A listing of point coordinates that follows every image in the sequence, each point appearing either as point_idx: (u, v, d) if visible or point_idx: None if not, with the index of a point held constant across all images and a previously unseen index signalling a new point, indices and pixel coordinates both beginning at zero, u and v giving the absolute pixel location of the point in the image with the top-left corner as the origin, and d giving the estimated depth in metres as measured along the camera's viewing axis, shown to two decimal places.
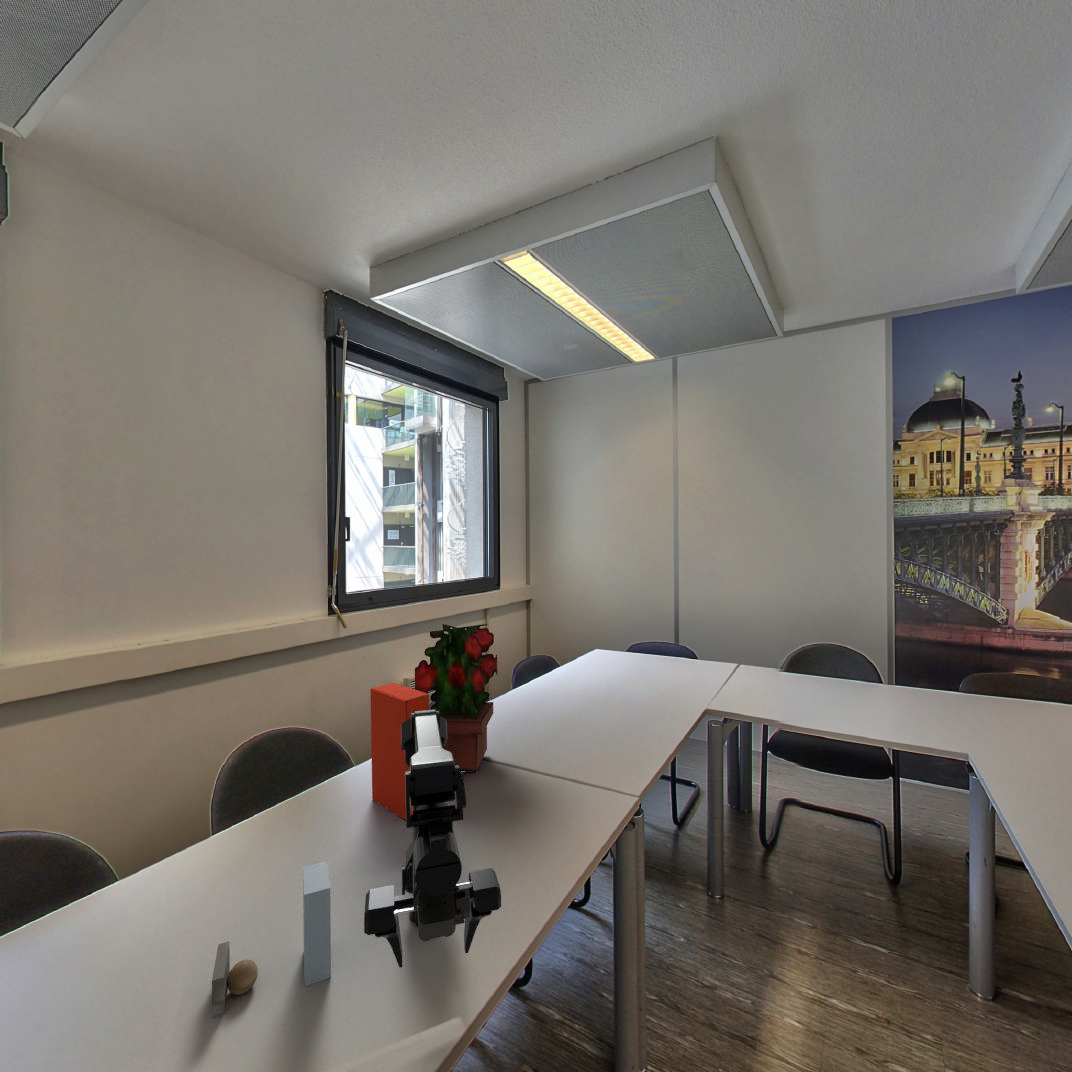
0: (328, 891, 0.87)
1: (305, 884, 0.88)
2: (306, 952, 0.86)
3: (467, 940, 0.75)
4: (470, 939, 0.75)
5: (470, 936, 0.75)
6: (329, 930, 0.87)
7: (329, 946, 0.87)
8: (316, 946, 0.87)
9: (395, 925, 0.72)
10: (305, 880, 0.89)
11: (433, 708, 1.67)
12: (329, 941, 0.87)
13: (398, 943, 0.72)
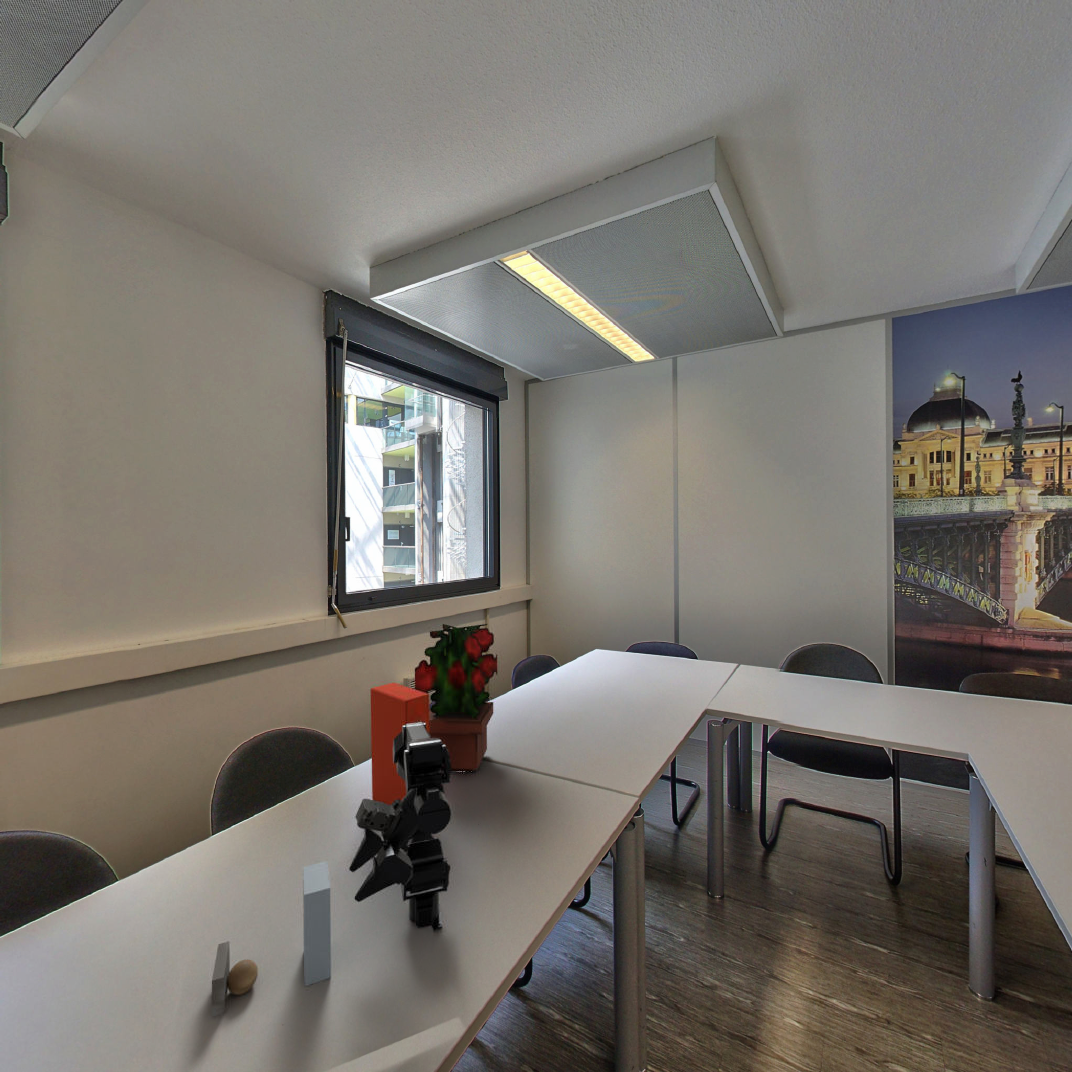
0: (328, 891, 0.87)
1: (305, 884, 0.88)
2: (306, 952, 0.86)
3: (362, 885, 0.89)
4: (362, 886, 0.89)
5: (364, 883, 0.89)
6: (329, 930, 0.87)
7: (329, 946, 0.87)
8: (316, 946, 0.87)
9: (370, 830, 0.99)
10: (305, 880, 0.89)
11: (433, 708, 1.67)
12: (329, 941, 0.87)
13: (361, 846, 0.98)
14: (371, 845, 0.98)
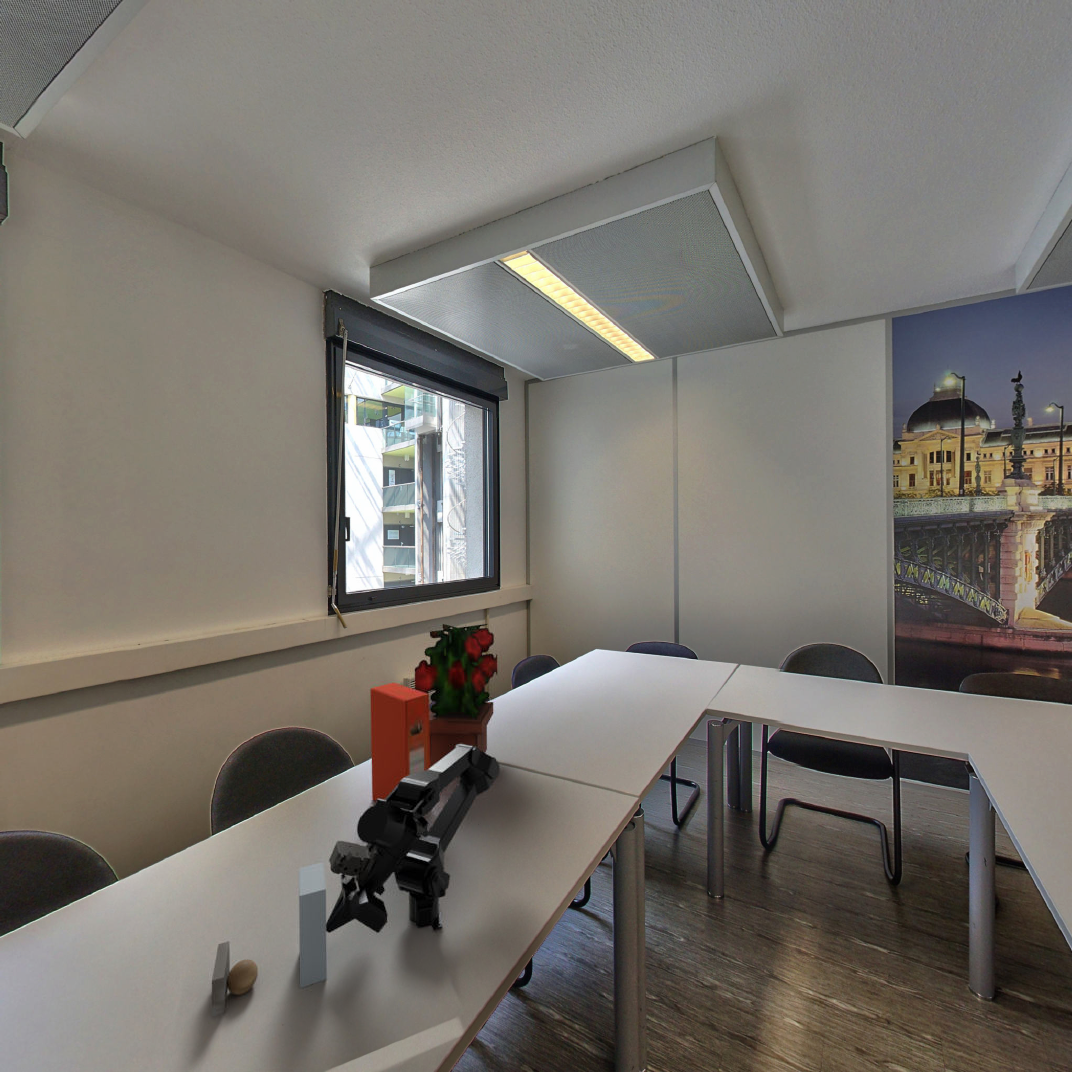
0: (324, 892, 0.87)
1: (301, 885, 0.88)
2: (301, 953, 0.86)
3: (332, 916, 0.91)
4: (332, 917, 0.90)
5: (334, 914, 0.90)
6: (325, 931, 0.87)
7: (325, 947, 0.87)
8: (312, 948, 0.86)
9: (348, 885, 0.93)
10: (301, 881, 0.89)
11: (433, 708, 1.67)
12: (325, 942, 0.87)
13: (338, 902, 0.92)
14: None
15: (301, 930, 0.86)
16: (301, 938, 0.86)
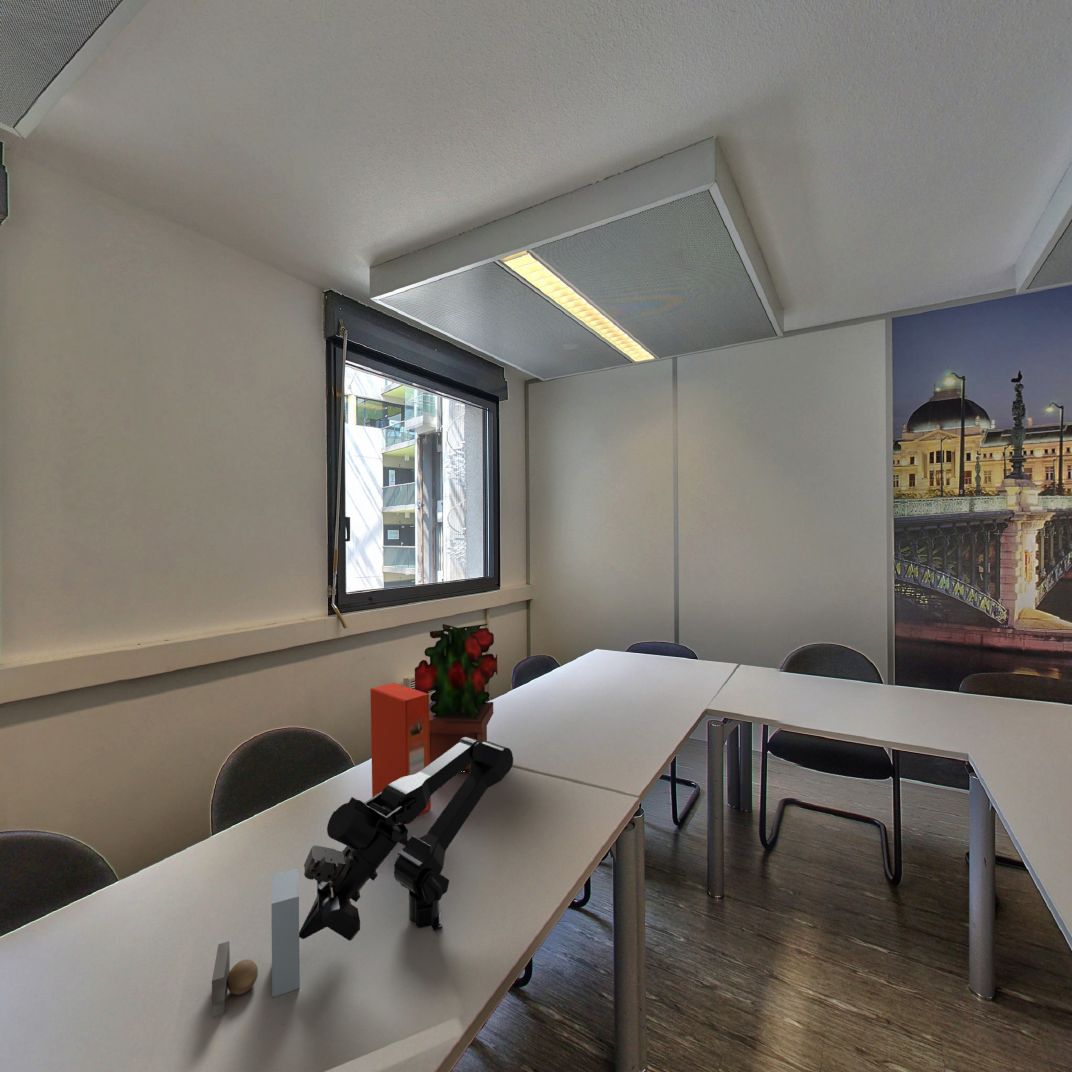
0: (297, 900, 0.85)
1: (273, 892, 0.86)
2: (273, 962, 0.84)
3: (306, 922, 0.89)
4: (307, 923, 0.89)
5: (308, 920, 0.89)
6: (298, 940, 0.85)
7: (298, 956, 0.85)
8: (284, 956, 0.84)
9: (323, 891, 0.92)
10: (274, 888, 0.87)
11: (433, 708, 1.67)
12: (298, 951, 0.85)
13: (313, 908, 0.90)
14: None
15: (273, 938, 0.84)
16: (273, 947, 0.84)
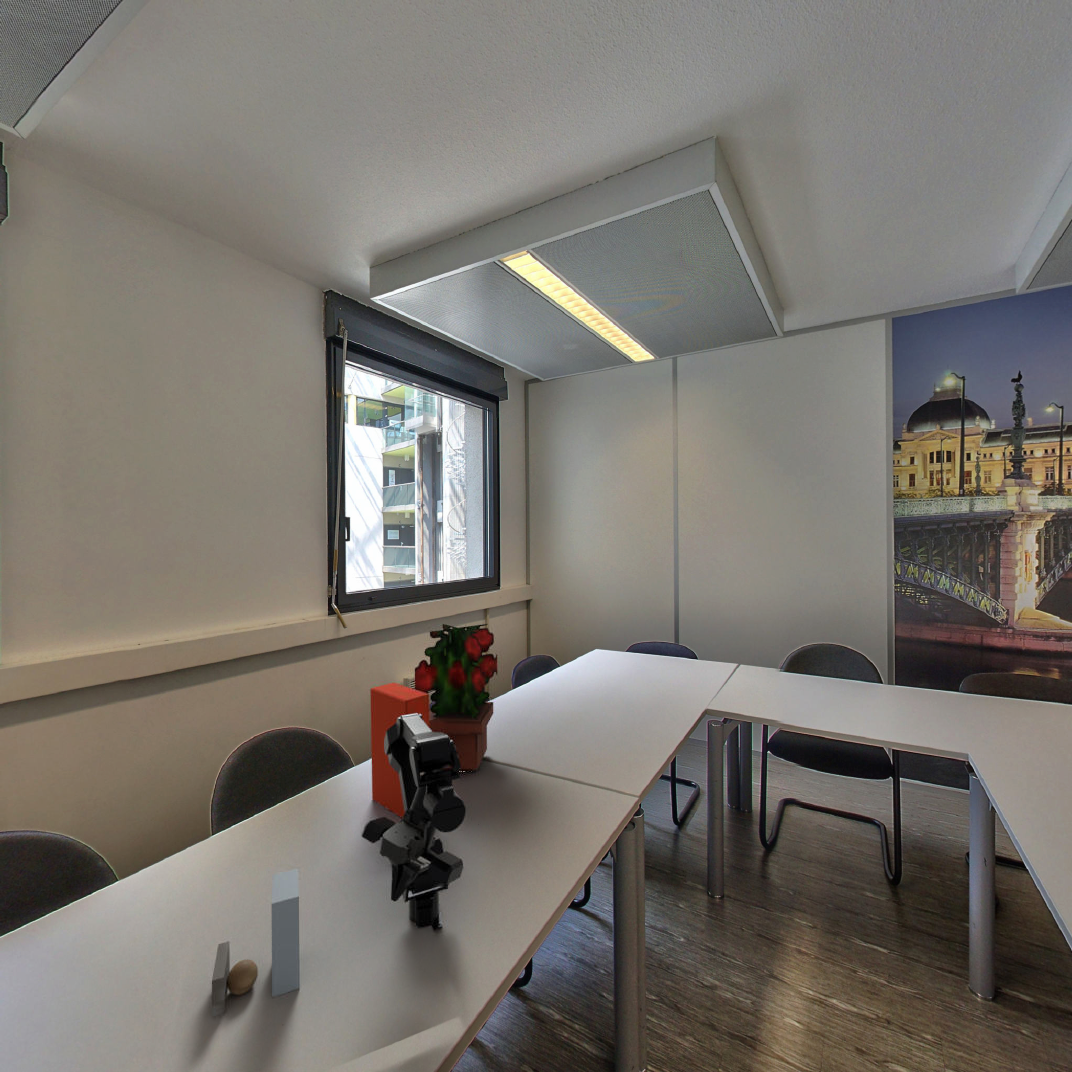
0: (297, 900, 0.85)
1: (273, 892, 0.86)
2: (273, 962, 0.84)
3: (397, 888, 0.91)
4: (399, 889, 0.91)
5: (400, 886, 0.91)
6: (298, 940, 0.85)
7: (298, 956, 0.85)
8: (284, 956, 0.84)
9: None
10: (274, 888, 0.87)
11: (433, 708, 1.67)
12: (298, 951, 0.85)
13: (396, 875, 0.91)
14: None
15: (273, 938, 0.84)
16: (273, 947, 0.84)
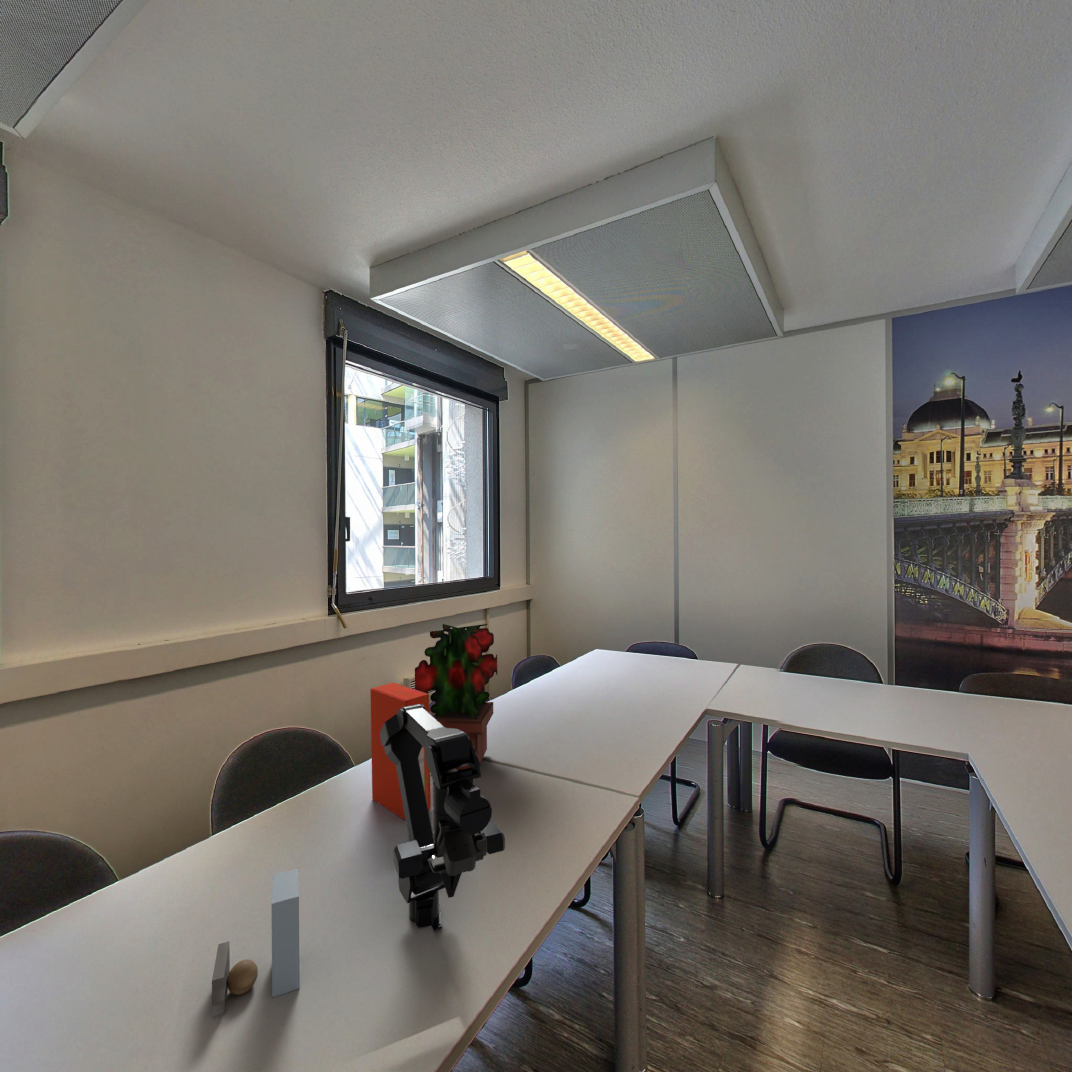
0: (297, 900, 0.85)
1: (273, 892, 0.86)
2: (273, 962, 0.84)
3: (453, 886, 0.91)
4: (455, 884, 0.91)
5: (455, 882, 0.91)
6: (298, 940, 0.85)
7: (298, 956, 0.85)
8: (284, 956, 0.84)
9: None
10: (274, 888, 0.87)
11: (433, 708, 1.67)
12: (298, 951, 0.85)
13: (449, 877, 0.90)
14: None
15: (273, 938, 0.84)
16: (273, 947, 0.84)
